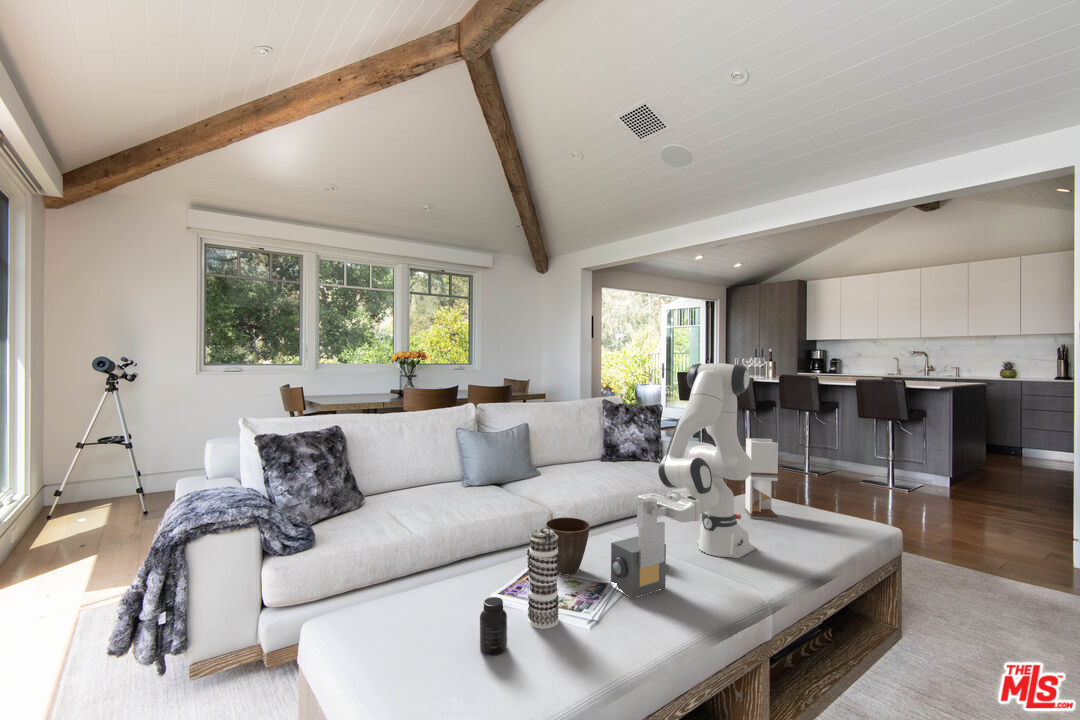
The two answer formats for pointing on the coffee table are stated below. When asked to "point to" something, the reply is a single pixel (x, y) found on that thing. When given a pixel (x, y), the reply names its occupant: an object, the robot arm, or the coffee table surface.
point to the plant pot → (570, 542)
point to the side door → (649, 534)
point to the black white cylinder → (543, 578)
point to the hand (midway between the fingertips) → (646, 511)
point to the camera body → (635, 569)
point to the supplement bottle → (493, 627)
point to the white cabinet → (761, 478)
